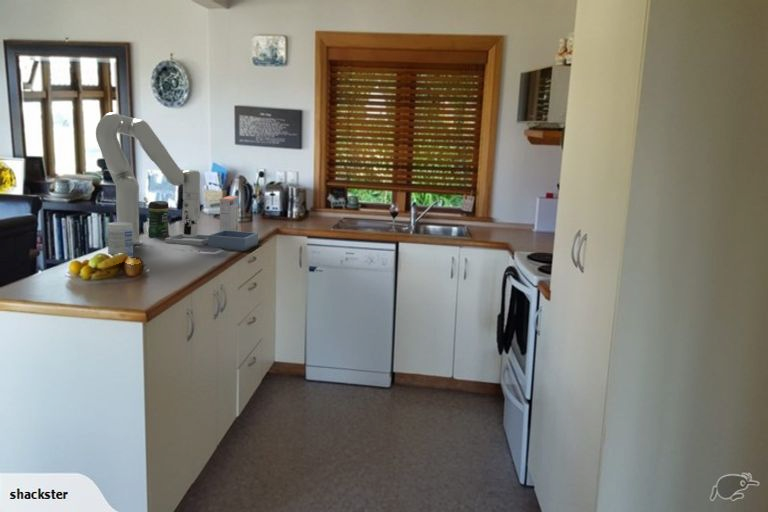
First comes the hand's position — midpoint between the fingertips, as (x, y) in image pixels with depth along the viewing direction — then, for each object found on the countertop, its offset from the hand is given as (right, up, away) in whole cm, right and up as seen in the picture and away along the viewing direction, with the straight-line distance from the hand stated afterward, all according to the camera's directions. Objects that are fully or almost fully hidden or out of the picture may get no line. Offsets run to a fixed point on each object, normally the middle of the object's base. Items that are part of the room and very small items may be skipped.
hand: (190, 233), depth 294 cm
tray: (0, -5, +1) cm, 5 cm away
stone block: (0, -1, 0) cm, 1 cm away
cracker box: (+13, -1, +25) cm, 28 cm away
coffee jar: (-19, -2, +10) cm, 21 cm away
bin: (+21, -6, 0) cm, 22 cm away
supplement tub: (-16, -12, -41) cm, 46 cm away
